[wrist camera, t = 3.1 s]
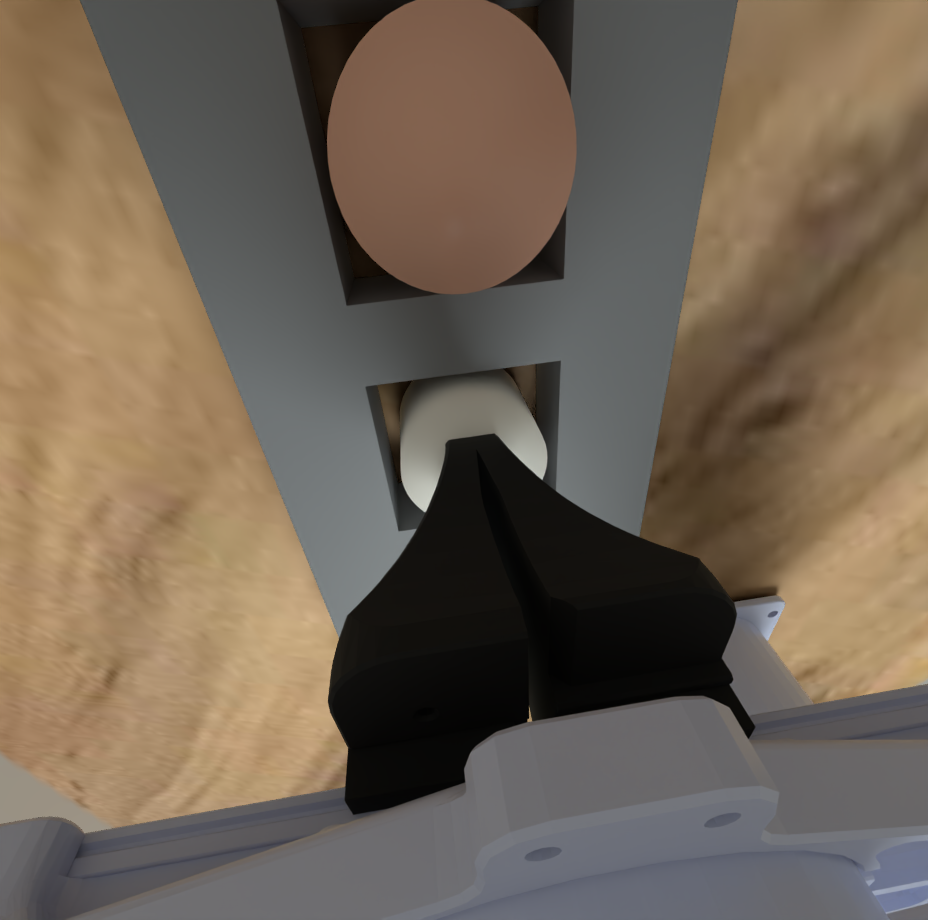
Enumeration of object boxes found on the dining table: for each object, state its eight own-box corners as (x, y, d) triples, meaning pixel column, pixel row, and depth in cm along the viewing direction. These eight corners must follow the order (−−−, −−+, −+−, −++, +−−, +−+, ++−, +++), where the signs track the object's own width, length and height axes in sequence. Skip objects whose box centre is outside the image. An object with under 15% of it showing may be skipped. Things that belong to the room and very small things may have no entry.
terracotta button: (531, 249, 11) (570, 280, 9) (366, 269, 11) (357, 306, 8) (531, 26, 9) (584, -20, 6) (321, 45, 9) (293, 7, 6)
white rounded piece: (523, 456, 16) (546, 512, 14) (410, 473, 16) (412, 533, 14) (521, 348, 14) (548, 393, 11) (389, 366, 14) (388, 414, 11)
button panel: (599, 586, 21) (621, 634, 19) (359, 624, 21) (355, 678, 19) (678, -40, 10) (753, -88, 8) (140, 7, 9) (67, -31, 7)
